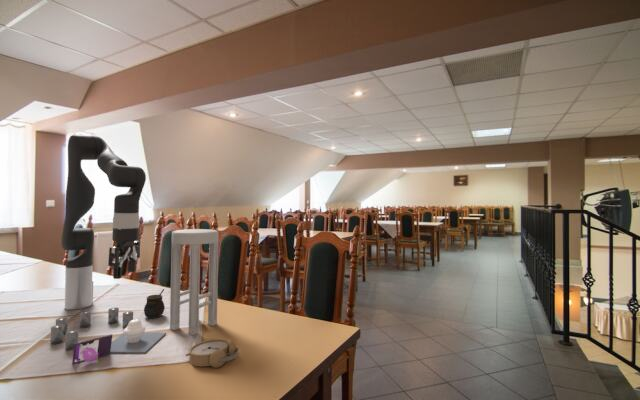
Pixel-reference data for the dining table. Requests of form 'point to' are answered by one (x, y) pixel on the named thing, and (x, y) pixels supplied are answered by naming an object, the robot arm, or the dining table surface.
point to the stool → (193, 277)
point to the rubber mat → (139, 347)
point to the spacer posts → (83, 326)
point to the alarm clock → (212, 353)
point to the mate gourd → (154, 306)
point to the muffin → (134, 331)
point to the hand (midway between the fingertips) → (124, 275)
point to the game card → (90, 353)
